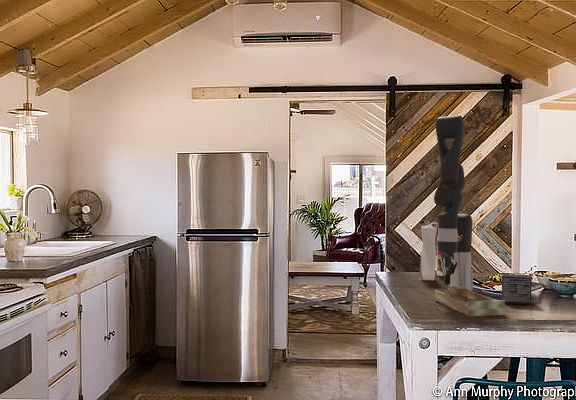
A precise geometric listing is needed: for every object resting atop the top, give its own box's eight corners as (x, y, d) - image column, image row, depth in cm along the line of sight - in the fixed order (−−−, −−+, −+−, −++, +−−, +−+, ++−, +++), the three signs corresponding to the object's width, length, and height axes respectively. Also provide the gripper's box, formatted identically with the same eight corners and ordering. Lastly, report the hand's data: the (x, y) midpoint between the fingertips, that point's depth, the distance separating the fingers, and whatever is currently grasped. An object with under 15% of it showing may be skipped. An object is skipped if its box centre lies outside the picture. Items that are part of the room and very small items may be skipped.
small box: (530, 301, 220) (530, 274, 219) (531, 305, 213) (532, 277, 213) (501, 299, 223) (501, 273, 223) (501, 303, 217) (502, 276, 217)
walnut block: (461, 299, 214) (461, 286, 214) (467, 302, 209) (467, 288, 209) (449, 299, 213) (449, 286, 213) (455, 302, 208) (455, 289, 208)
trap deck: (466, 299, 224) (466, 286, 224) (504, 314, 197) (504, 300, 197) (434, 300, 222) (434, 287, 222) (468, 316, 194) (469, 301, 194)
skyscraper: (437, 278, 276) (437, 221, 275) (437, 281, 268) (438, 222, 267) (419, 278, 277) (419, 221, 277) (419, 280, 270) (419, 222, 269)
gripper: (464, 241, 213) (463, 287, 213) (449, 238, 226) (448, 281, 226) (445, 241, 212) (445, 287, 212) (431, 238, 225) (430, 282, 225)
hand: (446, 284), depth 219 cm, fingers closed
